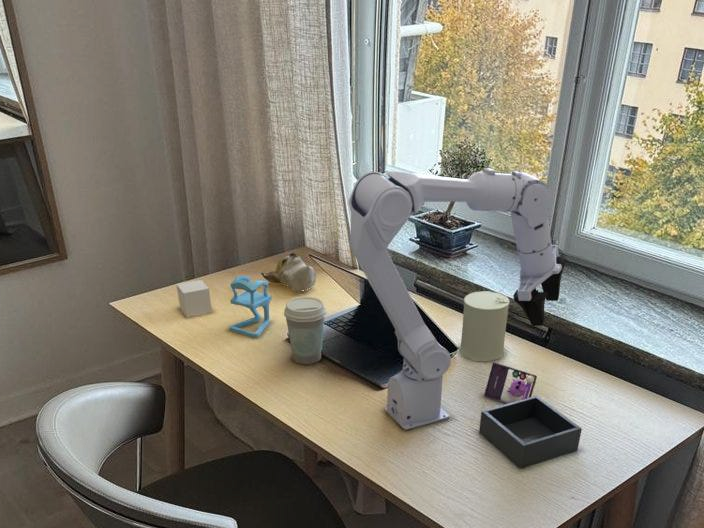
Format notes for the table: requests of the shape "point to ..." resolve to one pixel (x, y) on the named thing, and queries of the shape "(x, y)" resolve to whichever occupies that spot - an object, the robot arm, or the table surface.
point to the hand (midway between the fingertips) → (545, 311)
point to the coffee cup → (305, 328)
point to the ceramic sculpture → (292, 274)
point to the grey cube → (194, 298)
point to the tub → (529, 431)
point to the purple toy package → (517, 386)
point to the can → (484, 326)
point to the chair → (250, 304)
